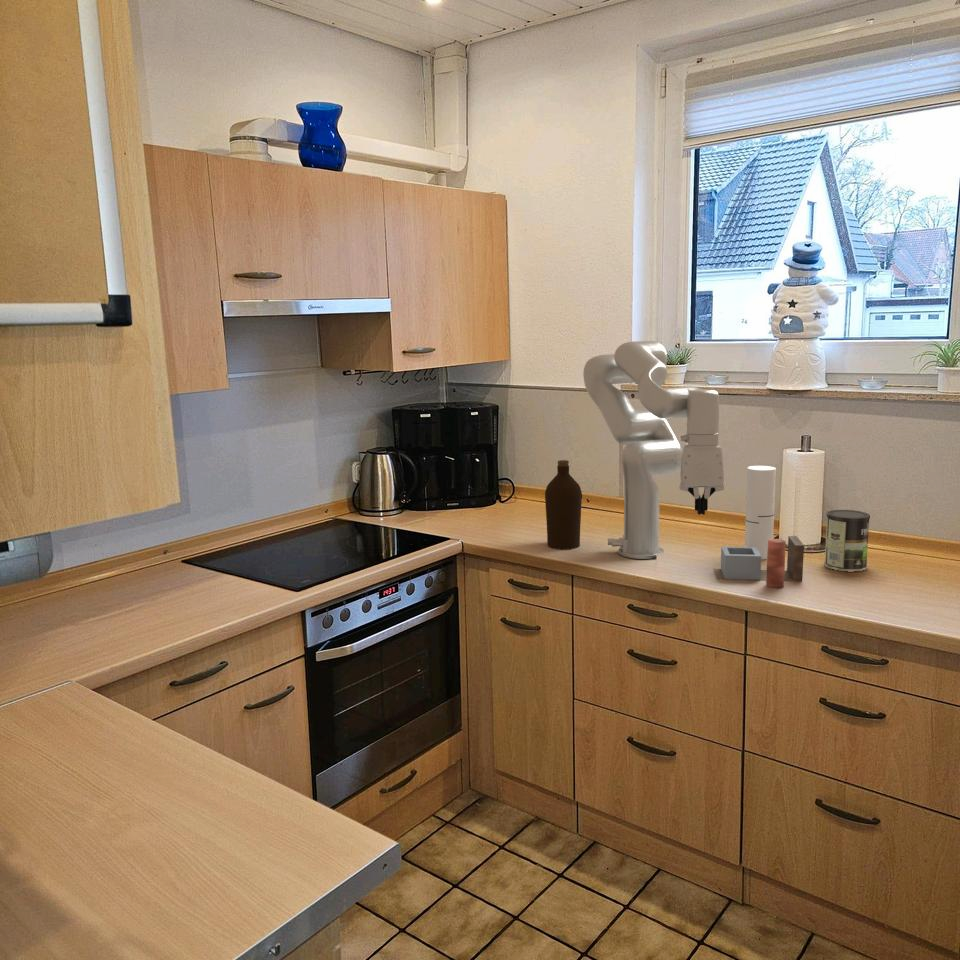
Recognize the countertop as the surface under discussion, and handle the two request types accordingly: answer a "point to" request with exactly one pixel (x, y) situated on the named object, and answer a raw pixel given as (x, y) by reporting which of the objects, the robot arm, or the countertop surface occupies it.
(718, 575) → the rail
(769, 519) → the cylindrical container
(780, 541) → the dowel
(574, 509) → the olive oil
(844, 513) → the coffee can
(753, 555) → the socket block
